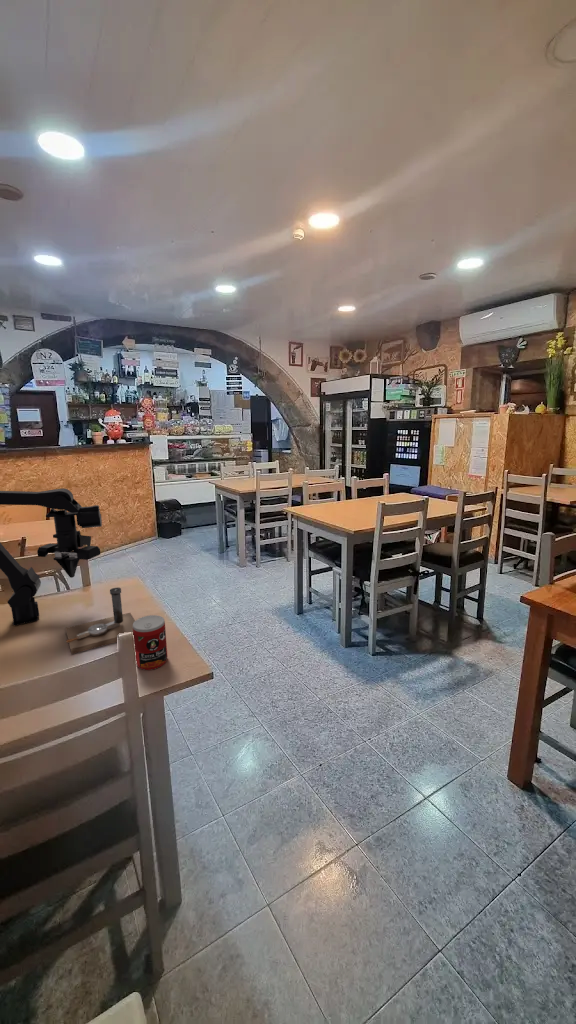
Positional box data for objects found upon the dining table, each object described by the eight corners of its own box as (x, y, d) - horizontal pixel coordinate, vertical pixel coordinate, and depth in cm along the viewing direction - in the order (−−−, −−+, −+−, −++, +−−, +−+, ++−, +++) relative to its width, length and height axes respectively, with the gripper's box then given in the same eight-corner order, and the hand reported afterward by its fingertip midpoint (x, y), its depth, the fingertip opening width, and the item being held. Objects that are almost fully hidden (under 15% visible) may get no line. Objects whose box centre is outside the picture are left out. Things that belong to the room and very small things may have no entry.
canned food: (138, 674, 101) (134, 632, 99) (134, 658, 108) (130, 618, 106) (170, 665, 104) (167, 625, 102) (164, 650, 111) (161, 612, 109)
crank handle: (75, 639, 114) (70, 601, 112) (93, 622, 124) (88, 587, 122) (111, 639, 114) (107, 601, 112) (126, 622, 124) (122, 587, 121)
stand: (68, 654, 110) (68, 649, 109) (64, 633, 121) (63, 627, 121) (141, 635, 119) (141, 629, 119) (130, 616, 131) (130, 611, 131)
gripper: (108, 524, 135) (113, 570, 138) (59, 522, 139) (65, 566, 142) (85, 533, 124) (91, 582, 127) (32, 530, 128) (39, 578, 132)
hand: (72, 577), depth 132 cm, fingers closed
